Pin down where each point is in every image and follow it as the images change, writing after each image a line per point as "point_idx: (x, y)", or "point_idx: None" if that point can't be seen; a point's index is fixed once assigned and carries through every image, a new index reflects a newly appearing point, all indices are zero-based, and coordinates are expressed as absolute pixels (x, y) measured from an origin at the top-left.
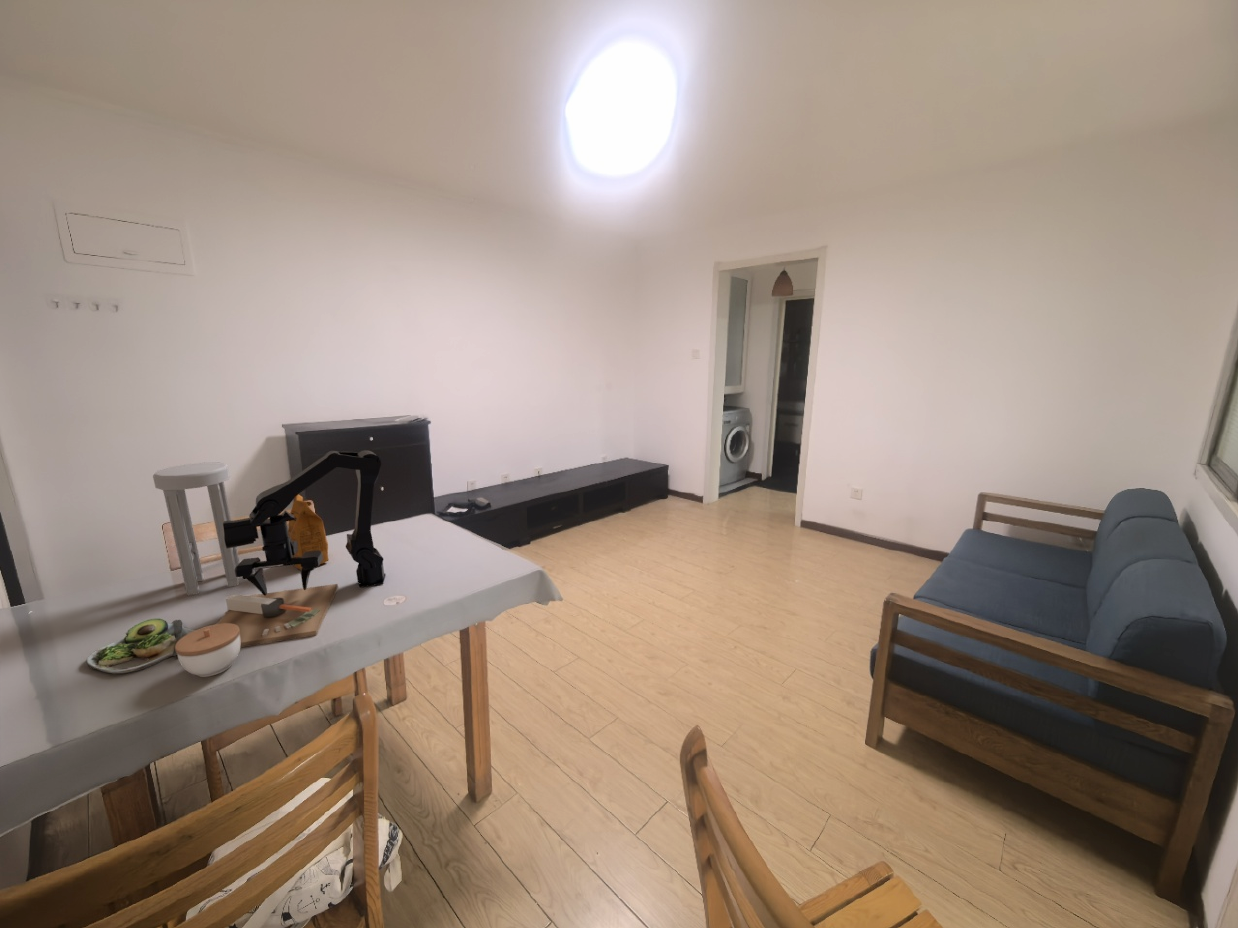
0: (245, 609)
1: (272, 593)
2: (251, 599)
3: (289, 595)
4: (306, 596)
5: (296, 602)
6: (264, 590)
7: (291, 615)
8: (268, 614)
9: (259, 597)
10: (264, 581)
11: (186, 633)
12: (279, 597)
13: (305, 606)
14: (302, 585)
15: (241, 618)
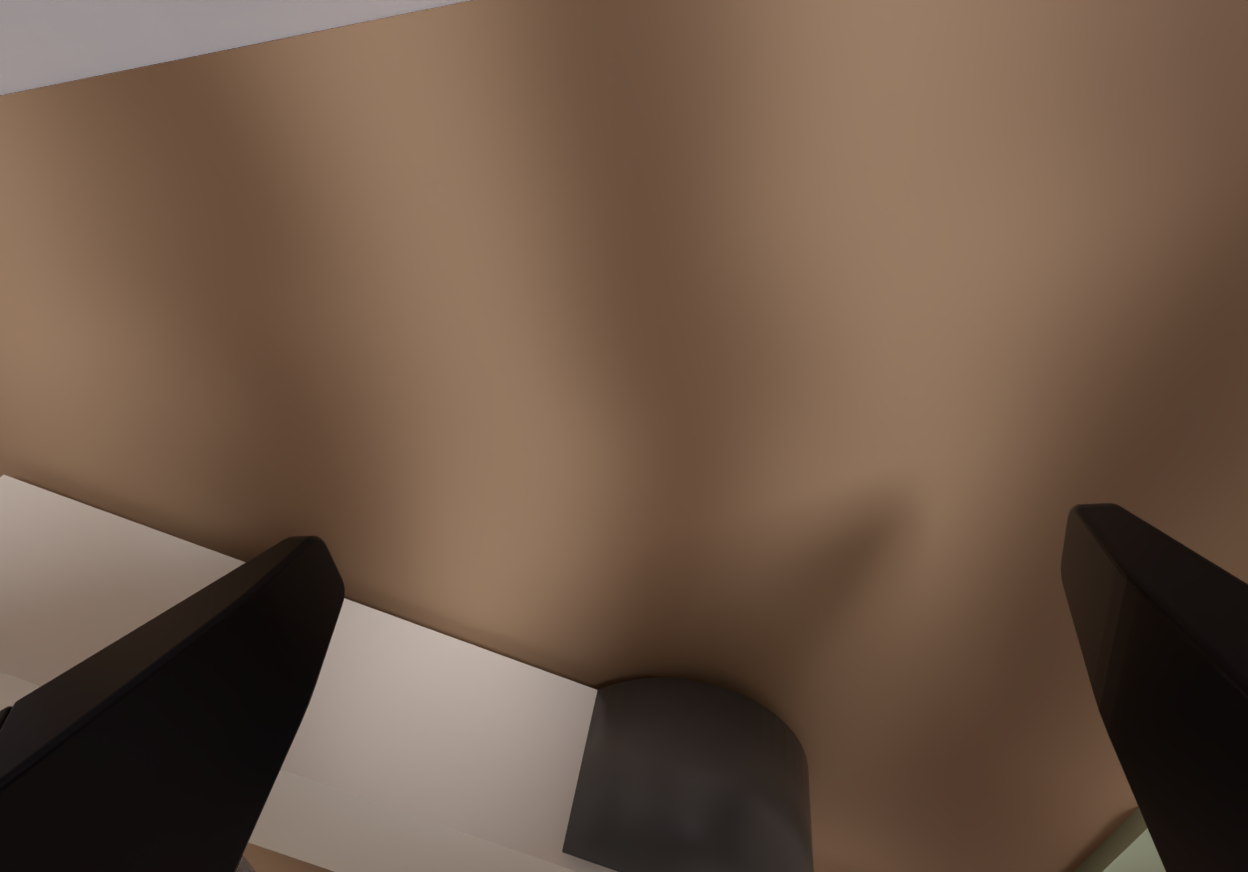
0: None
1: (232, 113)
2: (286, 822)
3: (644, 278)
4: (1015, 394)
5: (881, 561)
6: (296, 701)
7: (915, 828)
8: None
9: (367, 805)
10: (97, 733)
11: None
12: (489, 325)
13: (1060, 694)
14: (1110, 739)
15: None
